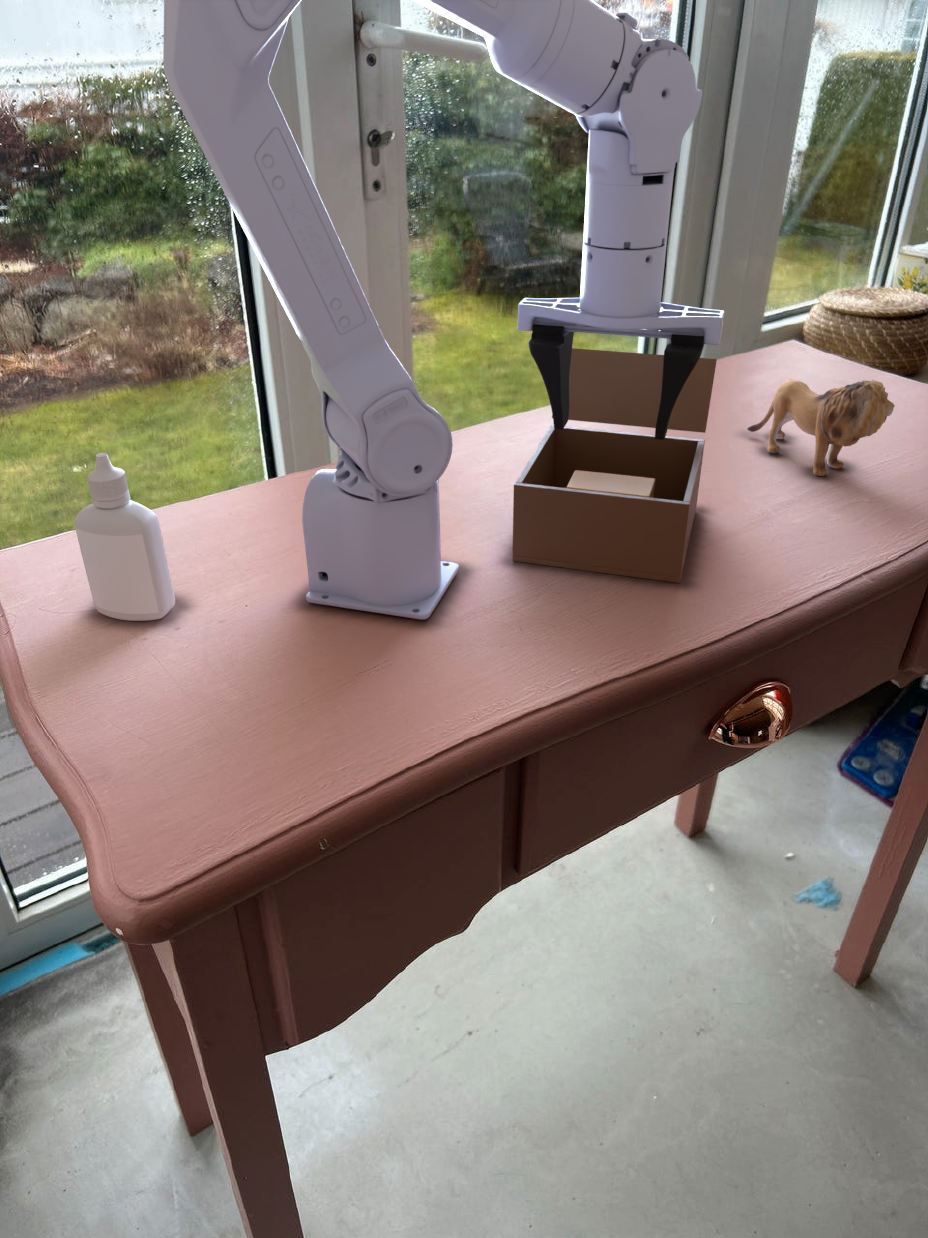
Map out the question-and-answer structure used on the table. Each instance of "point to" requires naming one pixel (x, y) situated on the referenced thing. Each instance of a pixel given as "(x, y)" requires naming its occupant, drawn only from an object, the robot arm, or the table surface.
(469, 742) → the table surface
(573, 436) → the bread box
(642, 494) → the beige block
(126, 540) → the eye dropper bottle
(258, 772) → the table surface
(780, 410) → the lion figurine
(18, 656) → the table surface
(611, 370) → the flap
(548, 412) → the table surface
